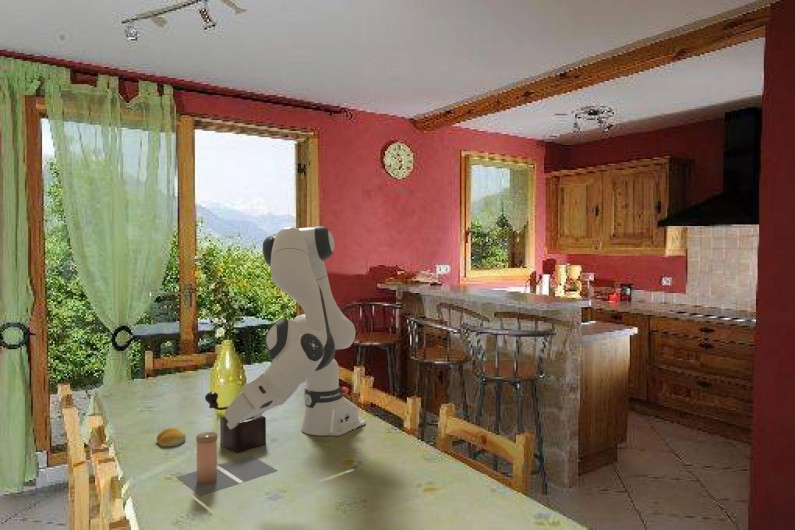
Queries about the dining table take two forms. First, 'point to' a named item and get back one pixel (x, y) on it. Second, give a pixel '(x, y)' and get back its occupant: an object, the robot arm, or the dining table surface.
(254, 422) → the manual coffee grinder
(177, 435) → the bread roll
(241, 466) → the throwing lane
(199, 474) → the terracotta jar
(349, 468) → the dining table surface
